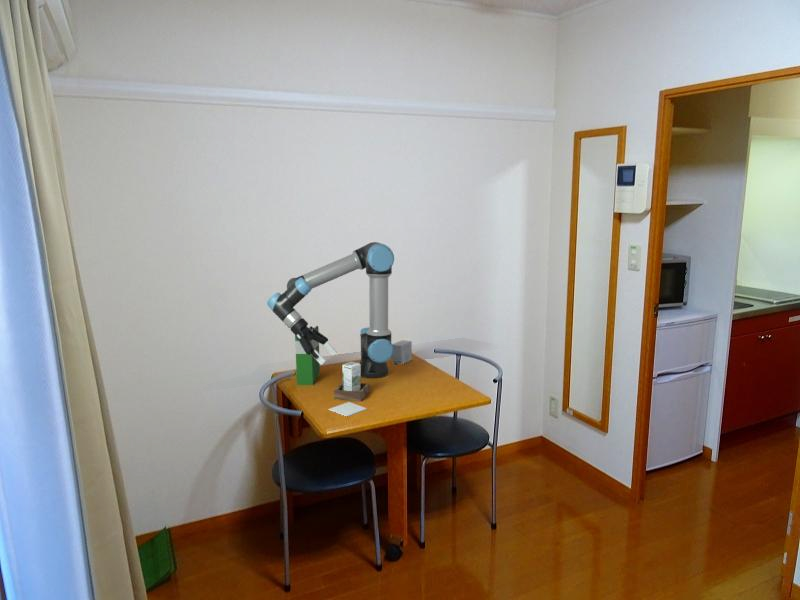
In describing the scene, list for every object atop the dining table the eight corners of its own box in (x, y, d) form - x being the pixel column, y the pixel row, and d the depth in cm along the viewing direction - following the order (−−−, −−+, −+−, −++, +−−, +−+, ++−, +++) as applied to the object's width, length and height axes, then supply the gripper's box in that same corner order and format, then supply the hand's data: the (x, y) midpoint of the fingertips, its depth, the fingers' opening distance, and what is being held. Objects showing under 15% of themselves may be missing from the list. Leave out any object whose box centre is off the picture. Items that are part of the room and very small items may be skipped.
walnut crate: (343, 390, 257) (343, 381, 256) (369, 392, 254) (368, 383, 253) (334, 399, 245) (334, 390, 244) (360, 401, 242) (360, 392, 242)
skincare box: (401, 358, 305) (401, 339, 304) (412, 360, 302) (412, 341, 300) (391, 363, 297) (390, 344, 295) (401, 365, 293) (401, 345, 291)
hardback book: (305, 373, 282) (303, 325, 277) (320, 373, 281) (318, 325, 277) (297, 385, 264) (294, 334, 260) (312, 385, 264) (311, 334, 259)
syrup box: (351, 392, 253) (350, 361, 251) (361, 395, 250) (360, 363, 247) (342, 396, 249) (341, 364, 247) (352, 399, 245) (351, 366, 243)
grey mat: (349, 402, 241) (349, 401, 241) (366, 409, 234) (366, 408, 234) (328, 409, 233) (328, 408, 233) (346, 416, 226) (346, 415, 226)
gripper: (302, 322, 263) (333, 356, 262) (278, 335, 239) (312, 372, 238) (312, 311, 260) (344, 345, 259) (289, 323, 236) (324, 361, 236)
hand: (329, 358), depth 249 cm, fingers open, 13 cm apart
